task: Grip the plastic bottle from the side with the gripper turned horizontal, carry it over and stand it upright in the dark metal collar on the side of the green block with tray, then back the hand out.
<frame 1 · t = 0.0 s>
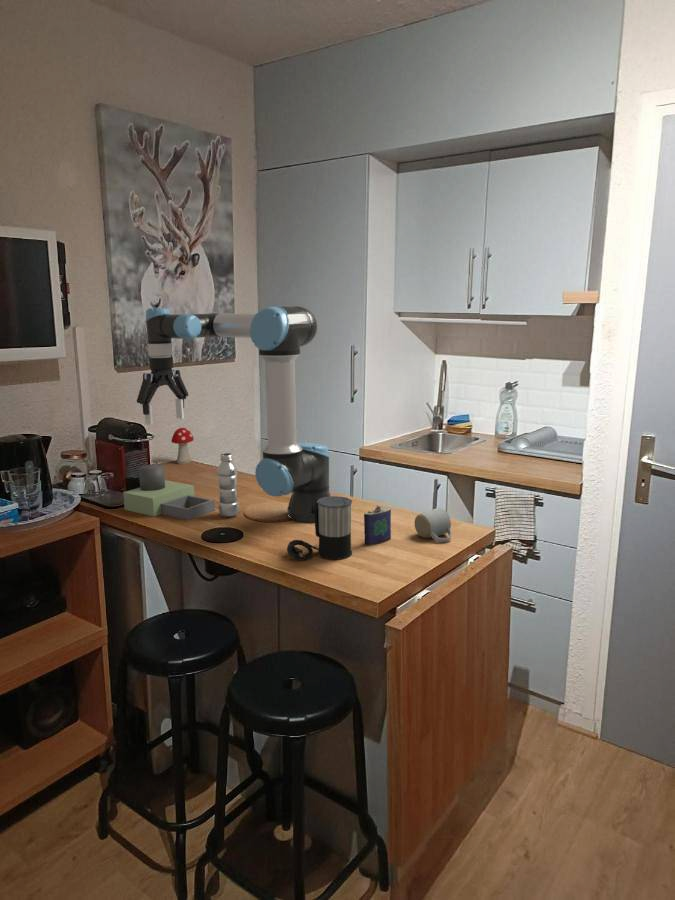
hand: (165, 421, 223), 28 cm above the countertop, tool pointing down, fingers open, 13 cm apart
green block with tray: (173, 508, 221), on the countertop
plastic bottle: (229, 516, 213), on the countertop
milk frother: (320, 555, 179), on the countertop
decorative mushroom: (184, 463, 287), on the countertop
ceramic mug: (435, 537, 192), on the countertop
flask: (378, 542, 189), on the countertop
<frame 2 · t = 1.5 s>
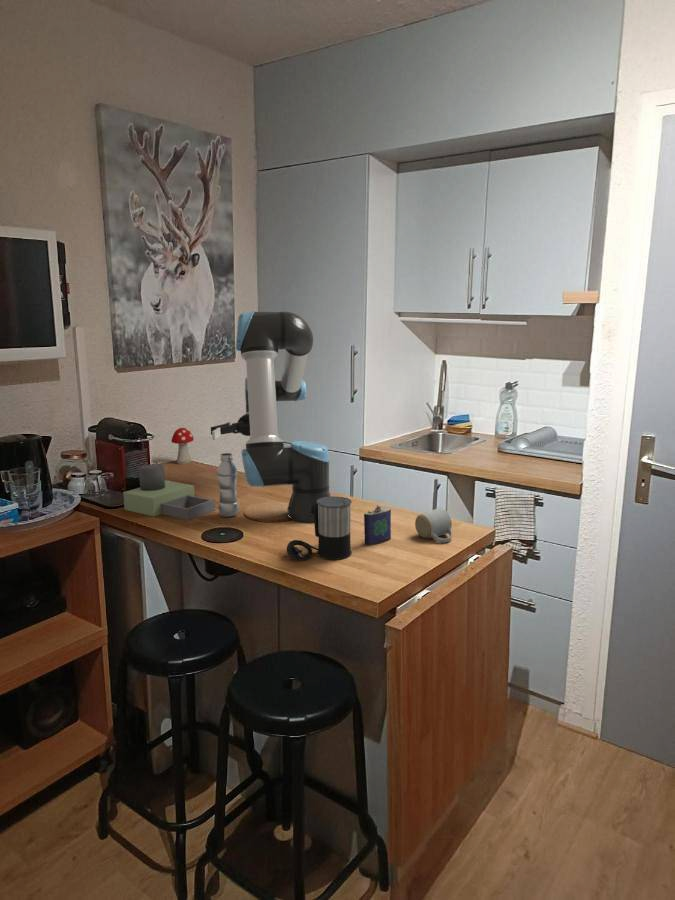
hand: (233, 436, 217), 24 cm above the countertop, tool horizontal, fingers open, 13 cm apart
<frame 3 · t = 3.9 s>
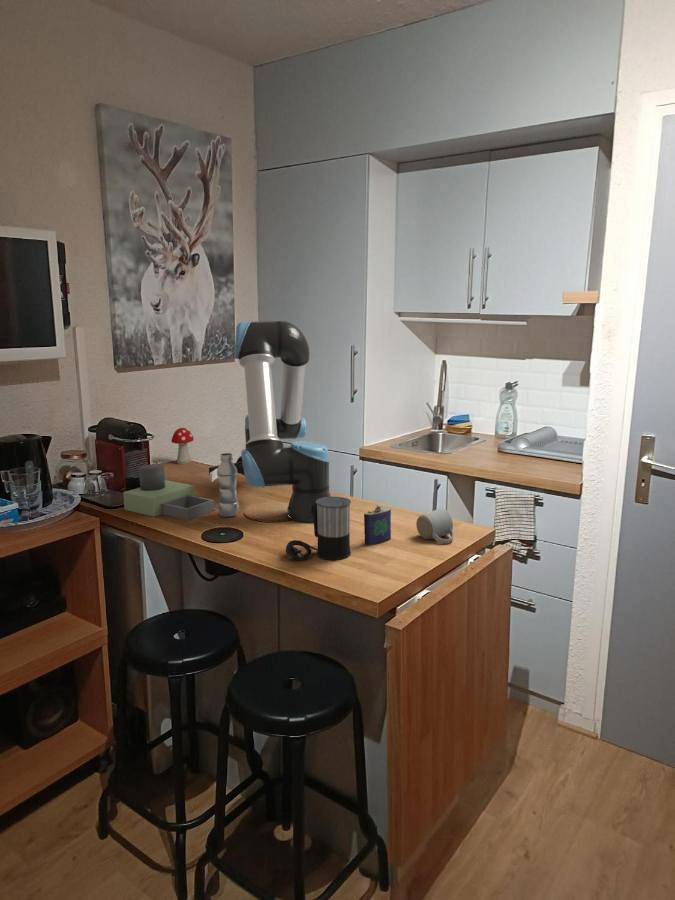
hand: (231, 478, 216), 11 cm above the countertop, tool horizontal, fingers open, 13 cm apart
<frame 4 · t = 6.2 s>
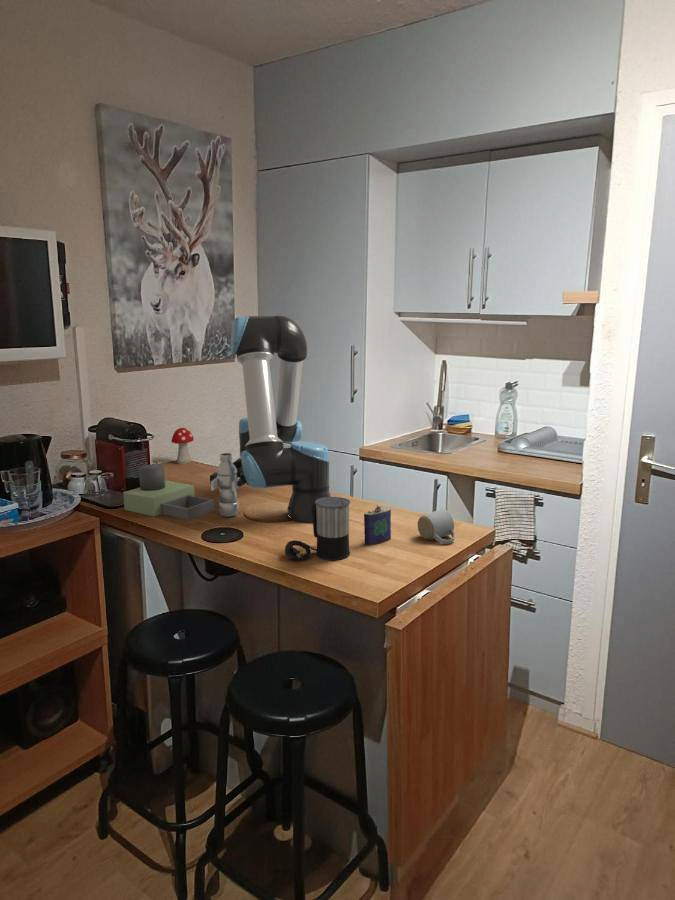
hand: (222, 486, 206), 11 cm above the countertop, tool horizontal, fingers closed on plastic bottle, 6 cm apart
plastic bottle: (229, 516, 213), on the countertop, touching gripper
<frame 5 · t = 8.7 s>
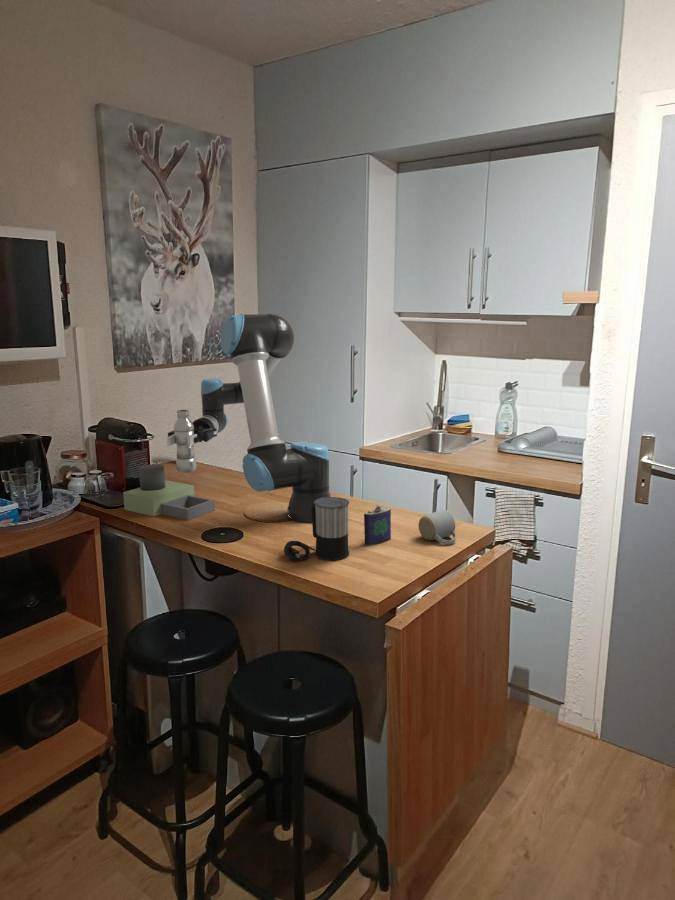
hand: (178, 442, 208), 24 cm above the countertop, tool horizontal, fingers closed on plastic bottle, 6 cm apart
plastic bottle: (186, 472, 215), point 13 cm above the countertop, touching gripper
when the fingers open (12 cm above the countertop, at t = 11.2 s): plastic bottle drops 1 cm, resting in green block with tray.
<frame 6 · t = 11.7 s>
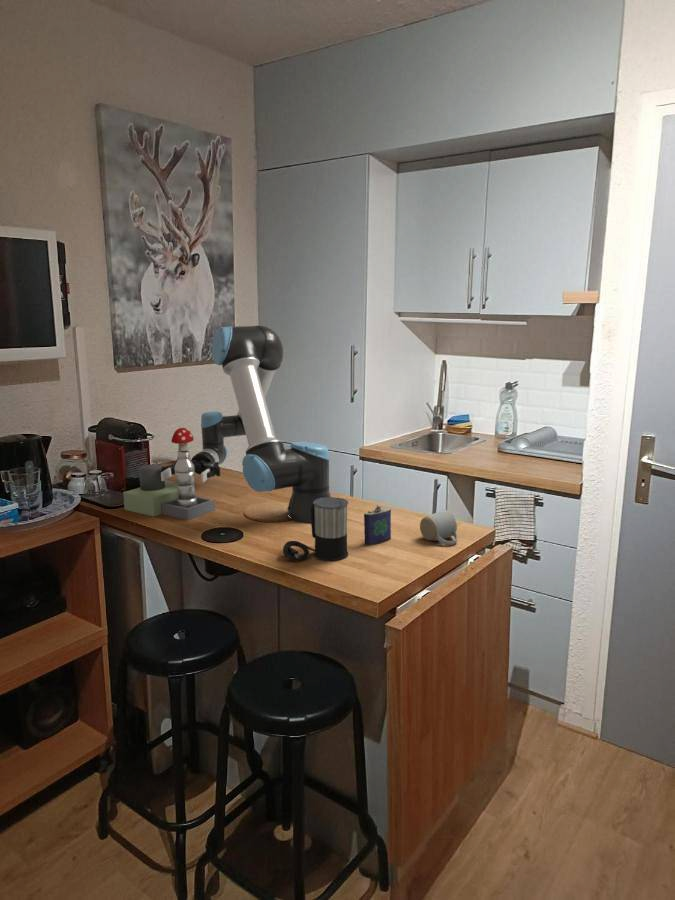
hand: (182, 477, 212), 12 cm above the countertop, tool horizontal, fingers open, 12 cm apart
plastic bottle: (188, 512, 218), resting in green block with tray
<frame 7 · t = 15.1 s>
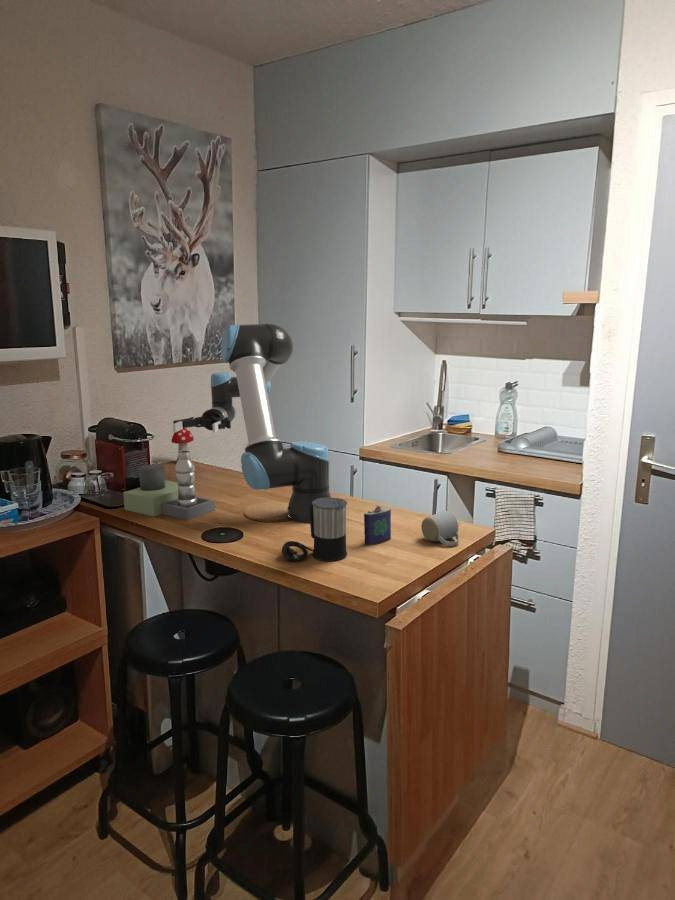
hand: (193, 428, 222), 26 cm above the countertop, tool horizontal, fingers open, 13 cm apart
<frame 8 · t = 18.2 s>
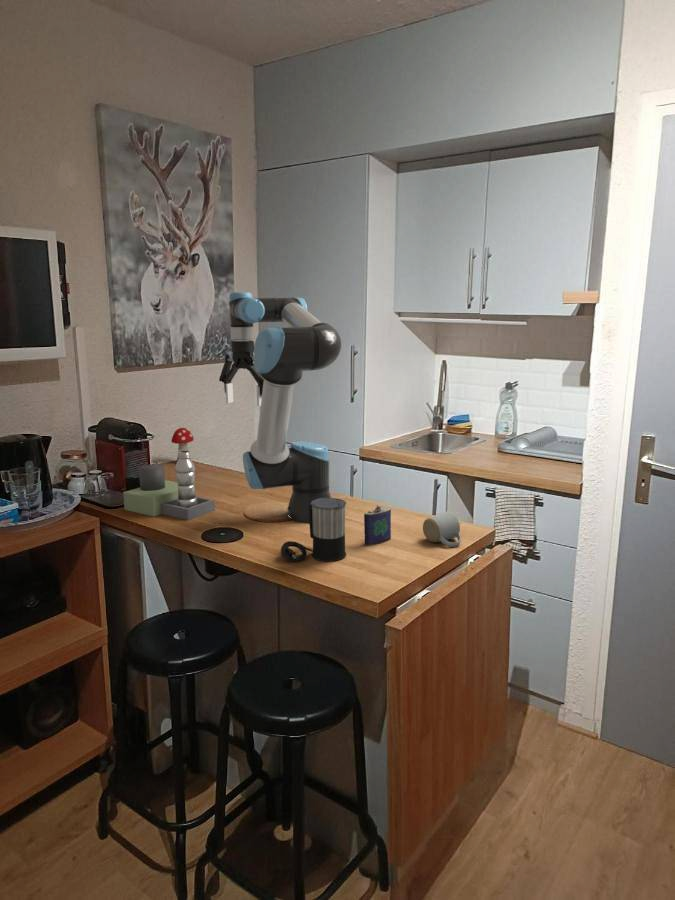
hand: (245, 404, 226), 33 cm above the countertop, tool pointing down, fingers open, 13 cm apart
at the end: plastic bottle 0.1 cm from the target spot on the green block with tray, point 0.0 cm above the green block with tray's base; plastic bottle tilted 1°; the gripper is holding nothing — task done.
